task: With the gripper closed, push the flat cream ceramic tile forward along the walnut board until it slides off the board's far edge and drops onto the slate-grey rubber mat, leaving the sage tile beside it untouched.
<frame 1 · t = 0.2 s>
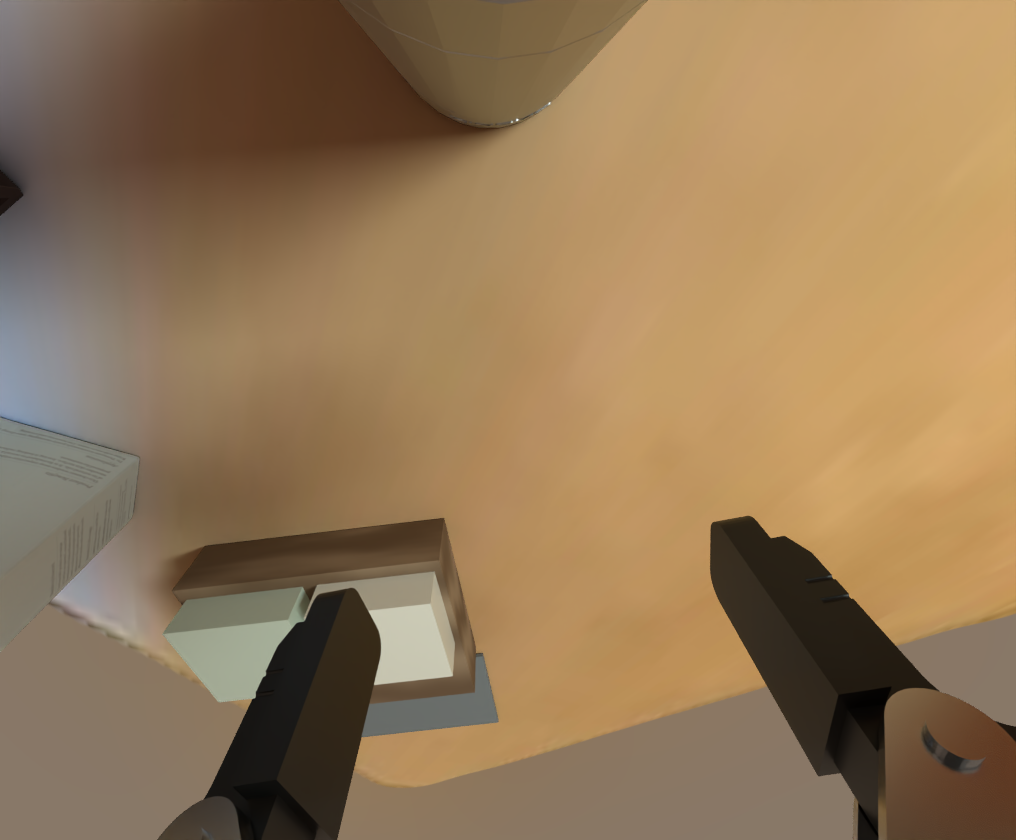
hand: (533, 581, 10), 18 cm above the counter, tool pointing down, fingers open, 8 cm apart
cream tile: (390, 615, 31), point 4 cm above the counter, touching walnut board
grey mat: (417, 696, 44), on the counter
skincare box: (77, 465, 29), on the counter
walnut board: (355, 602, 36), on the counter
sage tile: (267, 629, 31), point 4 cm above the counter, touching walnut board
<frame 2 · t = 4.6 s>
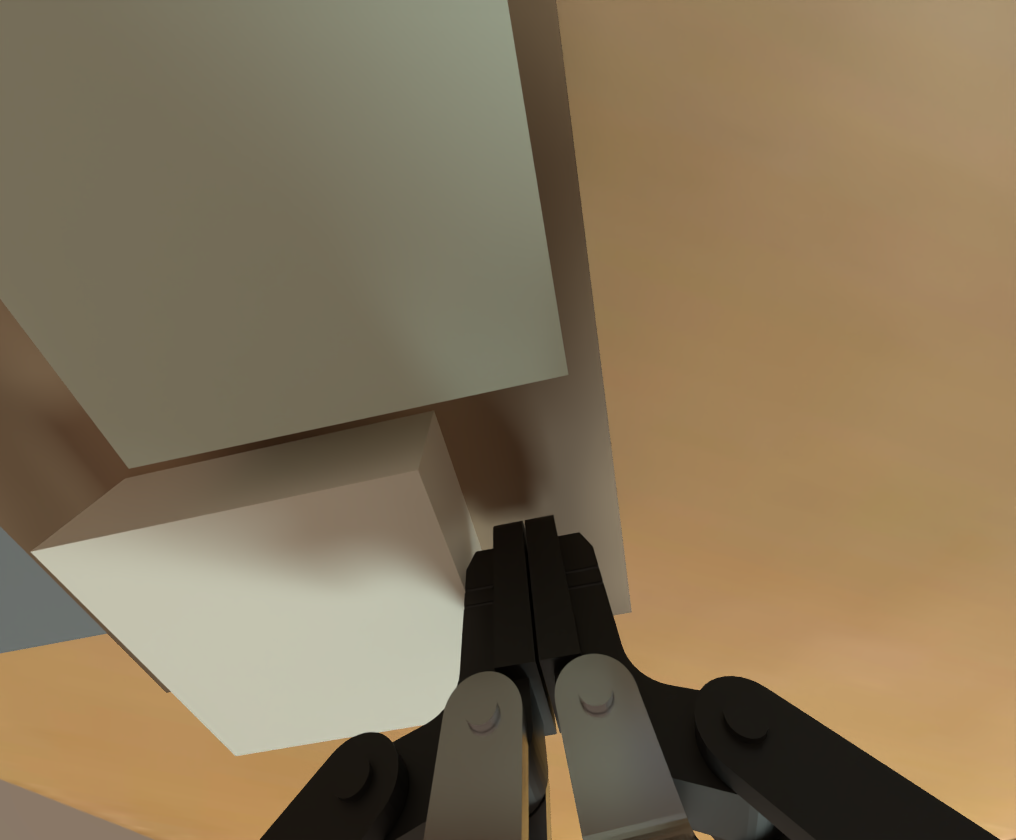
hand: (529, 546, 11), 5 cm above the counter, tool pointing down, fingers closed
cream tile: (340, 562, 12), point 4 cm above the counter, touching gripper, walnut board
walnut board: (320, 360, 14), on the counter
sage tile: (297, 170, 8), point 4 cm above the counter, touching walnut board
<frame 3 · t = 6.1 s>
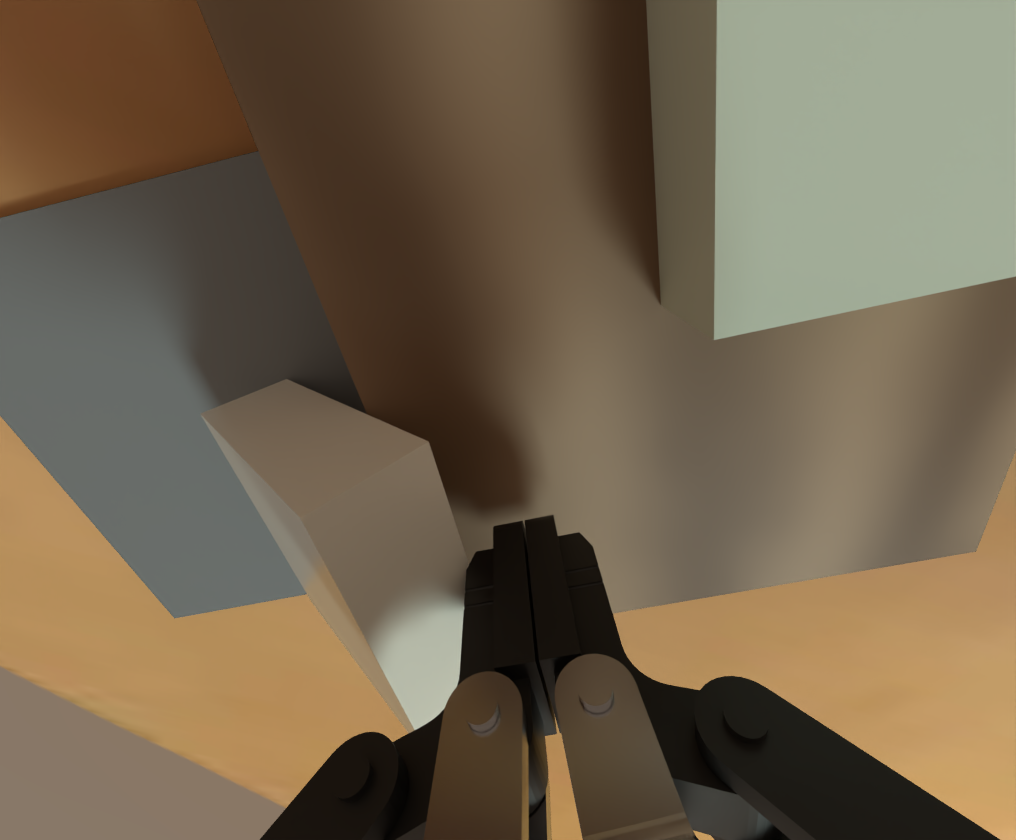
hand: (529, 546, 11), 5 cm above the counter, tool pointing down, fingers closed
cream tile: (389, 522, 13), point 3 cm above the counter, tilted 47°, touching grey mat, gripper
grey mat: (218, 439, 15), on the counter
walnut board: (648, 284, 13), on the counter
sage tile: (891, 14, 7), point 4 cm above the counter, touching walnut board
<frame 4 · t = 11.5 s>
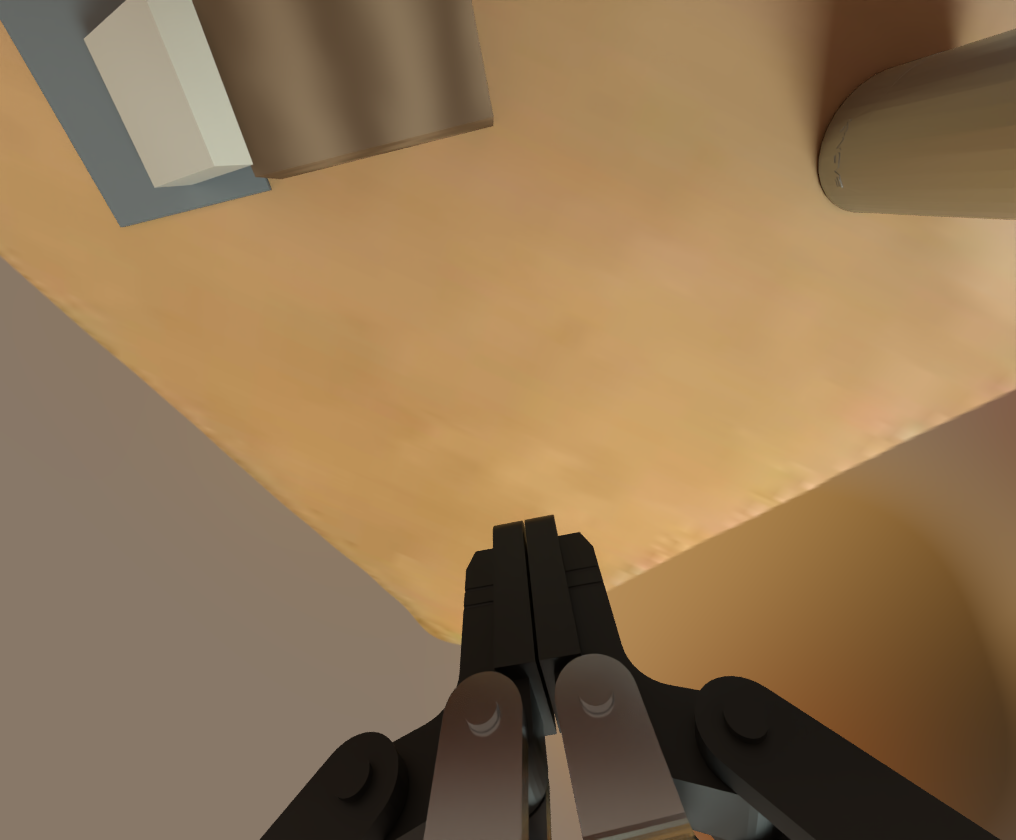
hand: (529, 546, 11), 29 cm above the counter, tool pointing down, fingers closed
cream tile: (191, 104, 28), point 2 cm above the counter, tilted 32°, touching grey mat, walnut board
grey mat: (136, 87, 29), on the counter
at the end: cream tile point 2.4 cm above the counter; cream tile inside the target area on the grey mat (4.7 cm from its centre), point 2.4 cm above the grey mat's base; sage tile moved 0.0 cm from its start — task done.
